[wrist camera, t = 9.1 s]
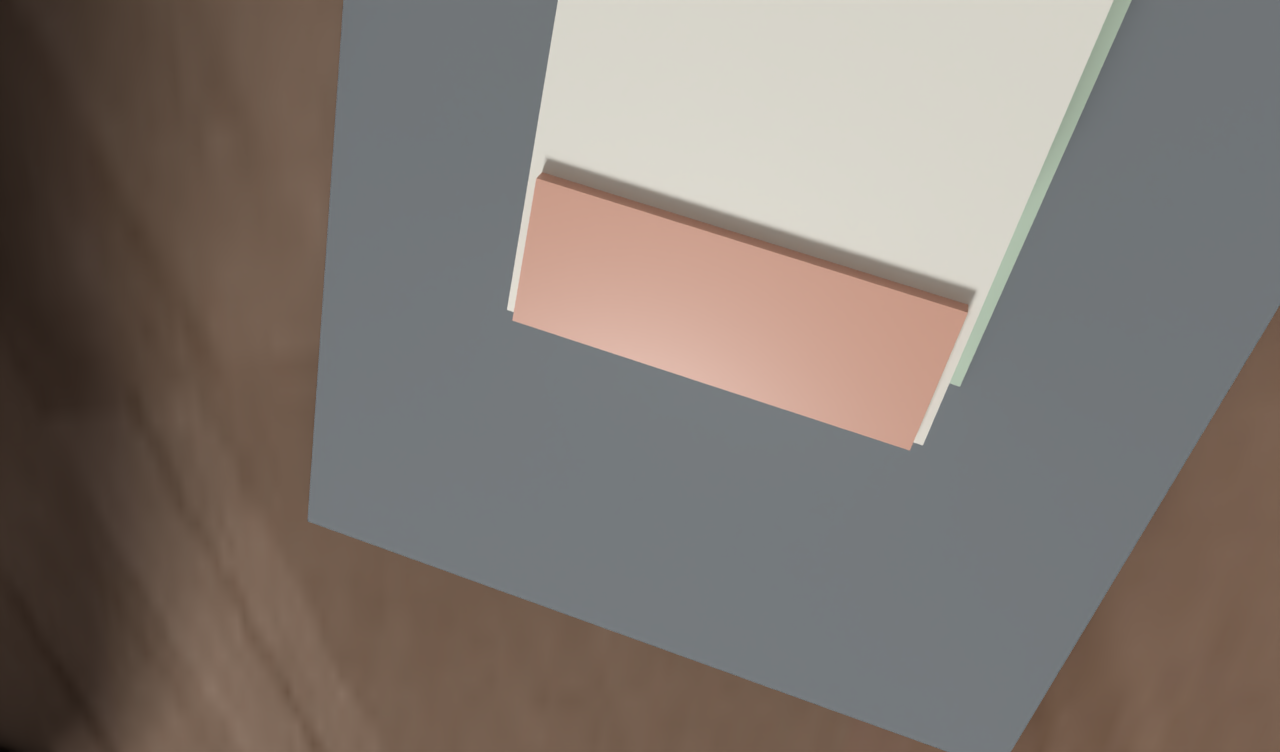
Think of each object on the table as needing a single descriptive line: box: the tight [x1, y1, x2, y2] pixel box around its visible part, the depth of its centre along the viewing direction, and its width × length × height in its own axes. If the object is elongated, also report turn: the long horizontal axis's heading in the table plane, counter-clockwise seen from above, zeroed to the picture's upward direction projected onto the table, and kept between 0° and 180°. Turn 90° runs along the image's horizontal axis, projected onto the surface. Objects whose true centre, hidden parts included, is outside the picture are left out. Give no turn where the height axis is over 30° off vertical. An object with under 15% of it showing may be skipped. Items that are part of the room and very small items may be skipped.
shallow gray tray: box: [308, 0, 1280, 752], centre depth 18 cm, size 18×14×1 cm
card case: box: [507, 0, 1114, 450], centre depth 14 cm, size 8×6×4 cm
